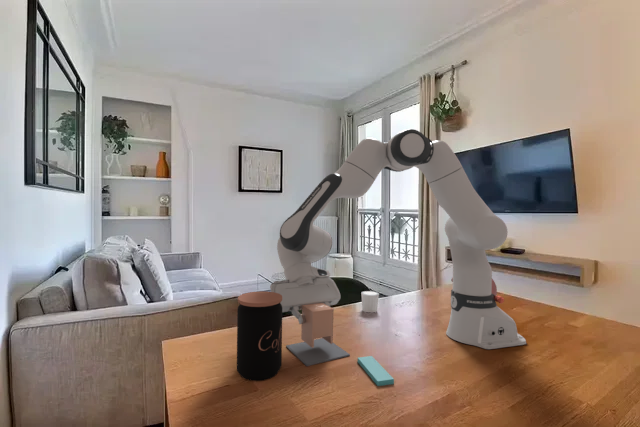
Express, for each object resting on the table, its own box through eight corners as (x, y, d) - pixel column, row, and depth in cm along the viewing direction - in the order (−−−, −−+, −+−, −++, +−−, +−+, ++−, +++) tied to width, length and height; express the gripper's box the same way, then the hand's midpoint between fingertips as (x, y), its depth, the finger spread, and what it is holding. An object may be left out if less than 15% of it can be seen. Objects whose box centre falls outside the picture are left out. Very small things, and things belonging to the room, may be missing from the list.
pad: (325, 338, 100) (325, 337, 100) (349, 355, 88) (349, 354, 88) (286, 346, 93) (286, 345, 93) (306, 366, 82) (306, 364, 82)
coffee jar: (260, 387, 72) (261, 305, 72) (226, 373, 78) (227, 298, 77) (290, 368, 81) (291, 295, 81) (257, 357, 87) (258, 289, 87)
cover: (321, 335, 95) (322, 302, 95) (332, 343, 90) (333, 308, 90) (301, 339, 92) (302, 305, 92) (311, 347, 87) (312, 311, 86)
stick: (371, 361, 86) (371, 355, 86) (393, 386, 75) (393, 379, 75) (357, 363, 85) (357, 357, 85) (377, 388, 73) (377, 381, 73)
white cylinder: (378, 314, 124) (378, 295, 124) (360, 312, 126) (360, 294, 125) (378, 308, 131) (379, 291, 131) (361, 307, 132) (361, 290, 132)
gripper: (271, 275, 93) (284, 320, 85) (333, 270, 103) (350, 310, 95) (265, 288, 97) (277, 332, 89) (325, 281, 107) (341, 320, 98)
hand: (315, 320), depth 92 cm, fingers closed on cover, 6 cm apart
